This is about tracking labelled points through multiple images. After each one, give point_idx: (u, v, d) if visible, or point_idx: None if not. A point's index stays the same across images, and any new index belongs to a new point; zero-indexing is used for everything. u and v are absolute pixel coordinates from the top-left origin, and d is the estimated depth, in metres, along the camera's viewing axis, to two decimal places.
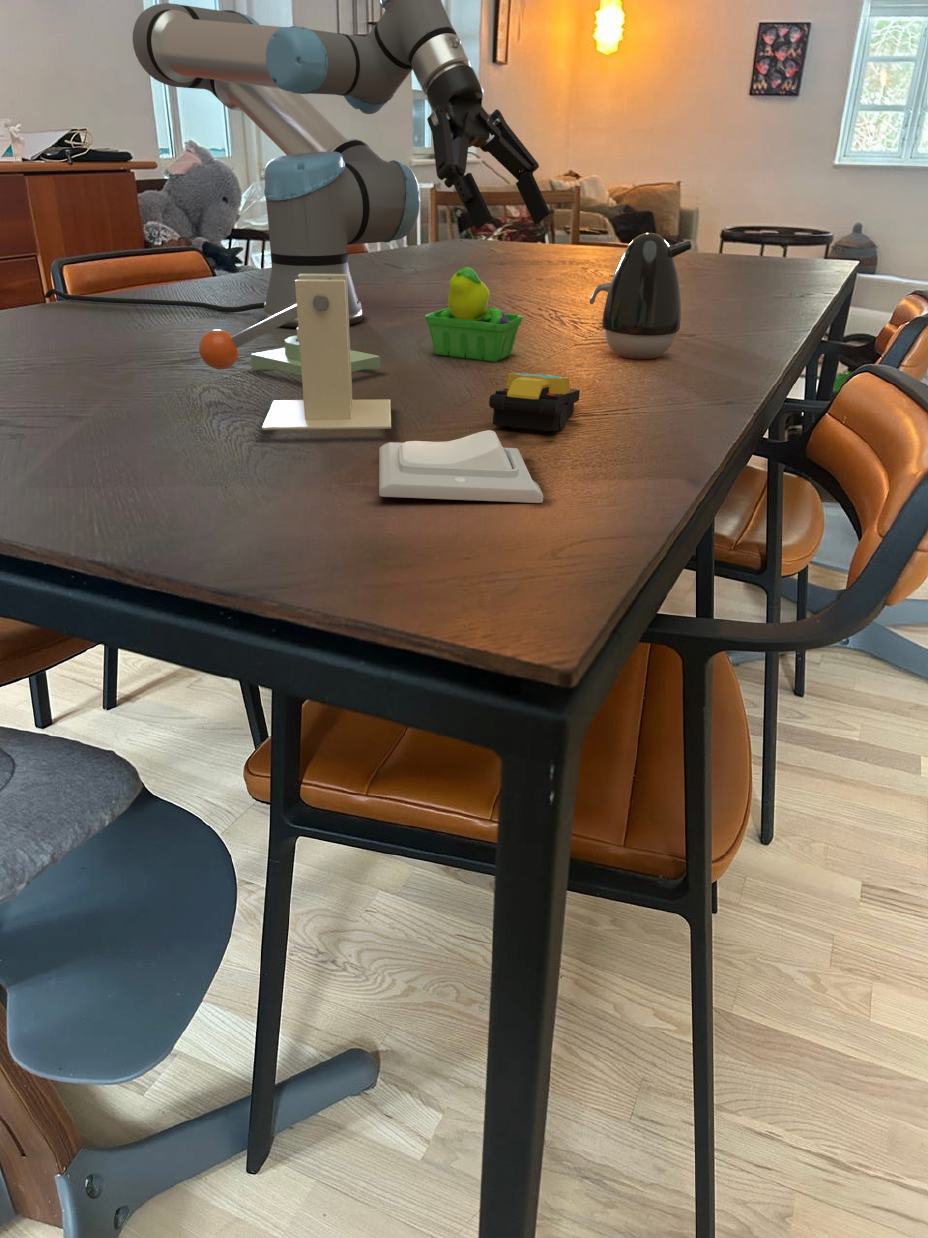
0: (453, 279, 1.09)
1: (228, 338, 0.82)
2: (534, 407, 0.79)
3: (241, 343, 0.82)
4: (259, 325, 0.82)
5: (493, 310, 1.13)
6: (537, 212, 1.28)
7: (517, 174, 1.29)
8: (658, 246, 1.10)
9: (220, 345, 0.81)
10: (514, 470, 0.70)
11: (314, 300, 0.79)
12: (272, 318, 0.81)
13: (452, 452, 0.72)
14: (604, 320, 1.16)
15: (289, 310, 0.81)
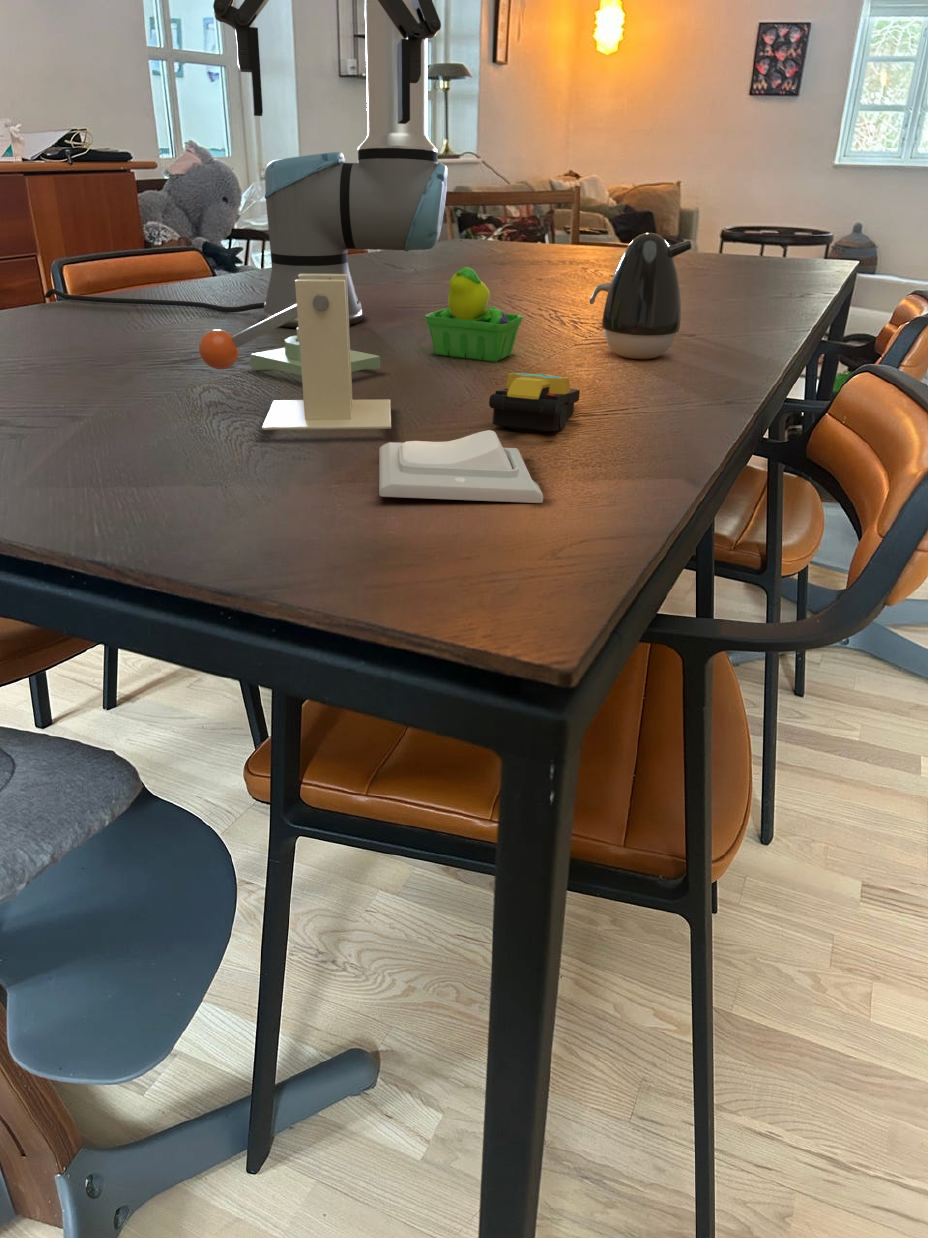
0: (453, 279, 1.09)
1: (228, 338, 0.82)
2: (534, 407, 0.79)
3: (241, 343, 0.82)
4: (259, 325, 0.82)
5: (493, 310, 1.13)
6: (399, 108, 0.84)
7: (404, 30, 0.82)
8: (658, 246, 1.10)
9: (220, 345, 0.81)
10: (514, 470, 0.70)
11: (314, 300, 0.79)
12: (272, 318, 0.81)
13: (452, 452, 0.72)
14: (604, 320, 1.16)
15: (289, 310, 0.81)
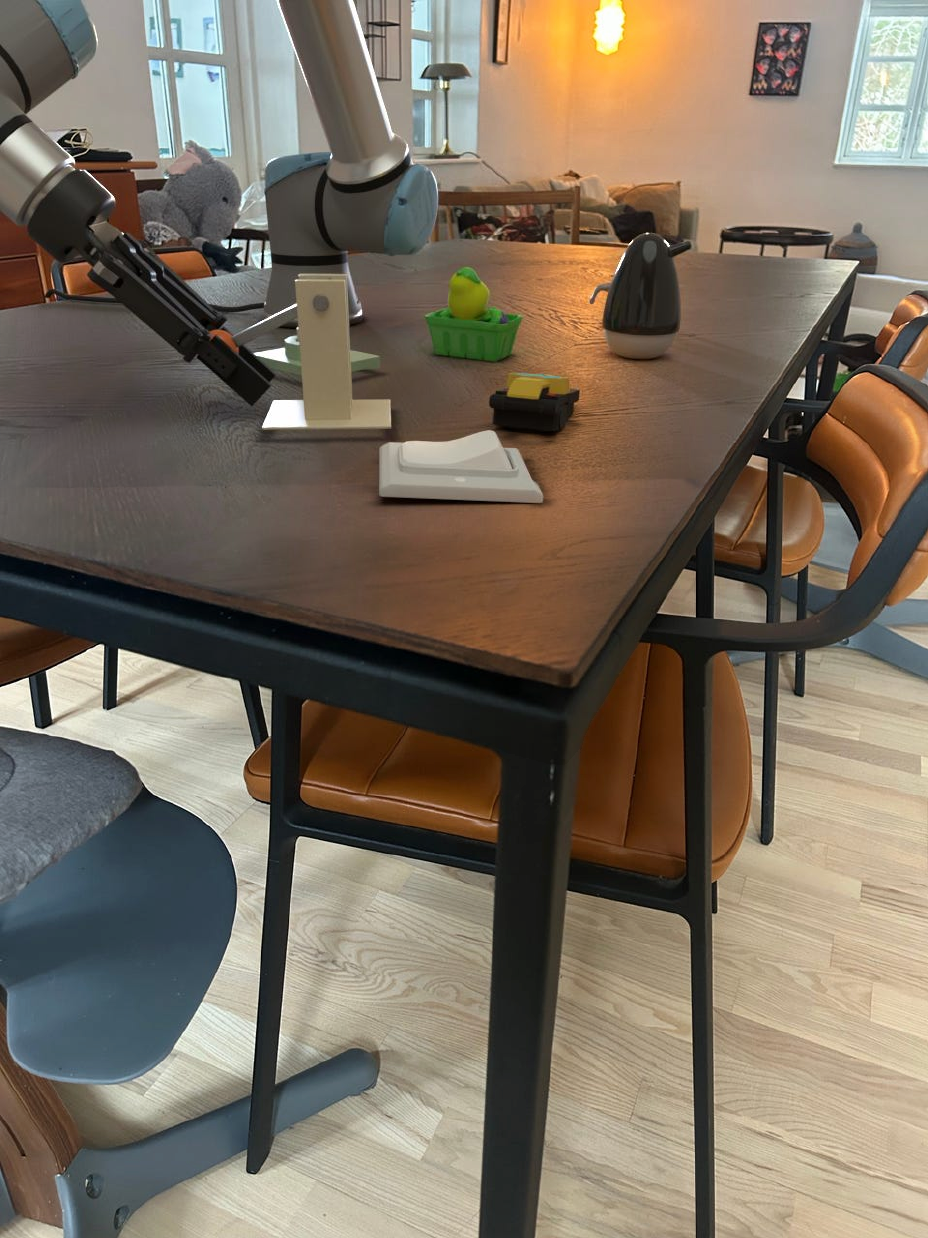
0: (453, 279, 1.09)
1: (228, 338, 0.82)
2: (534, 407, 0.79)
3: (241, 343, 0.82)
4: (259, 325, 0.82)
5: (493, 310, 1.13)
6: None
7: None
8: (658, 246, 1.10)
9: None
10: (514, 470, 0.70)
11: (314, 300, 0.79)
12: (272, 318, 0.81)
13: (452, 452, 0.72)
14: (604, 320, 1.16)
15: (289, 310, 0.81)
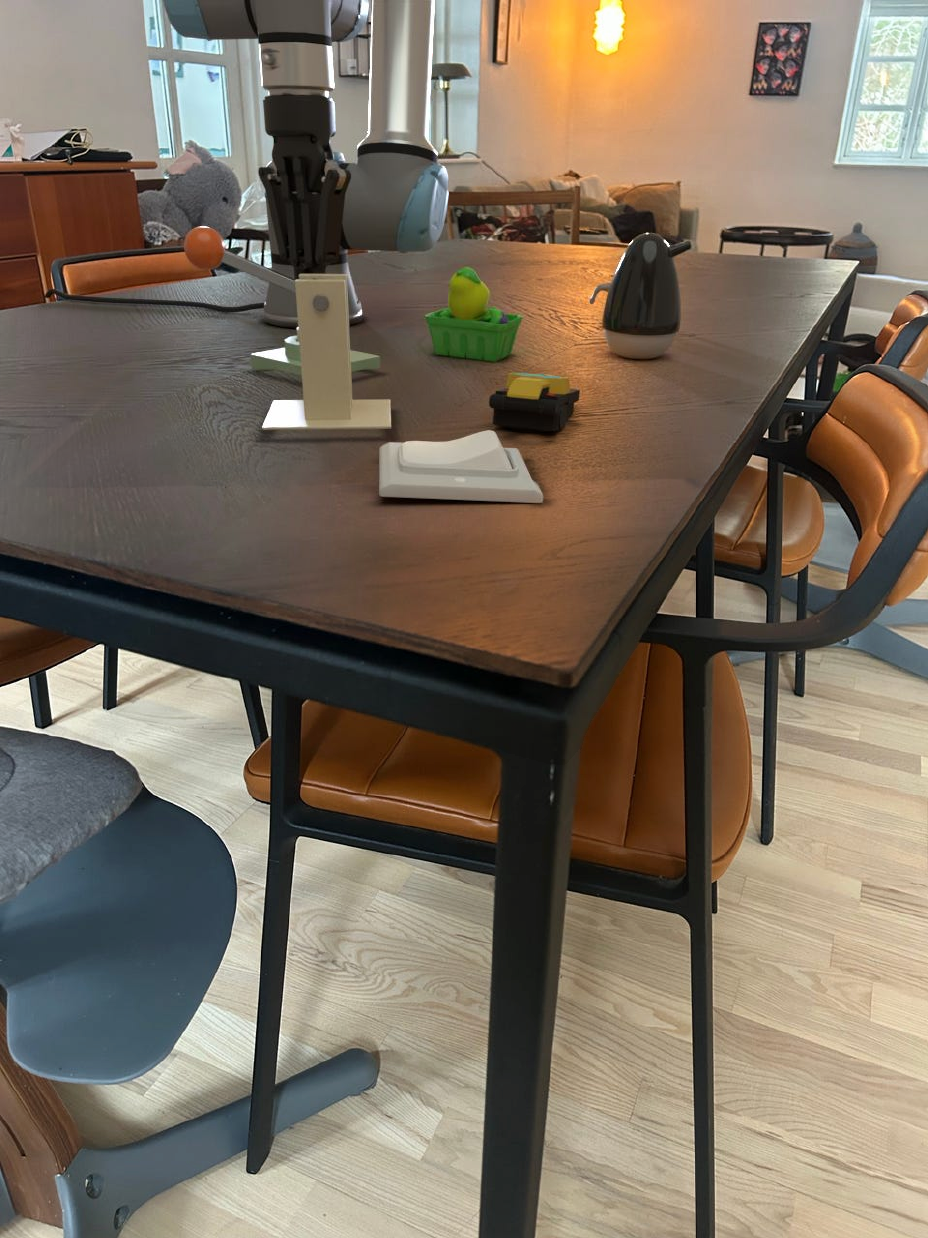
0: (453, 279, 1.09)
1: (221, 249, 0.78)
2: (534, 407, 0.79)
3: (228, 263, 0.79)
4: (255, 266, 0.79)
5: (493, 310, 1.13)
6: None
7: None
8: (658, 246, 1.10)
9: (211, 248, 0.77)
10: (514, 470, 0.70)
11: (314, 300, 0.79)
12: (271, 272, 0.79)
13: (452, 452, 0.72)
14: (604, 320, 1.16)
15: (289, 280, 0.80)
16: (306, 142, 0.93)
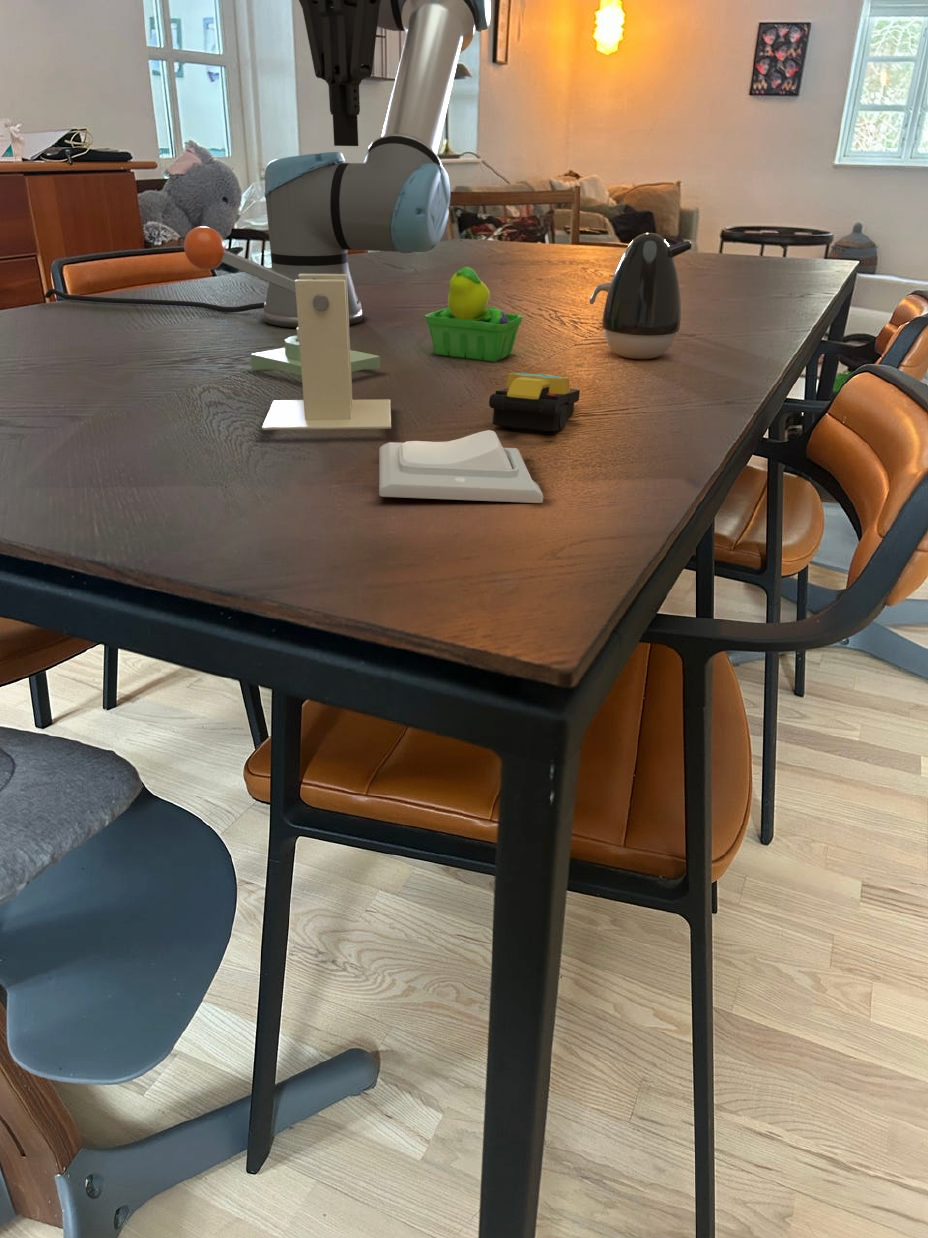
0: (453, 279, 1.09)
1: (221, 249, 0.78)
2: (534, 407, 0.79)
3: (228, 263, 0.79)
4: (255, 266, 0.79)
5: (493, 310, 1.13)
6: None
7: None
8: (658, 246, 1.10)
9: (211, 248, 0.77)
10: (514, 470, 0.70)
11: (314, 300, 0.79)
12: (271, 272, 0.79)
13: (452, 452, 0.72)
14: (604, 320, 1.16)
15: (289, 280, 0.80)
16: None
